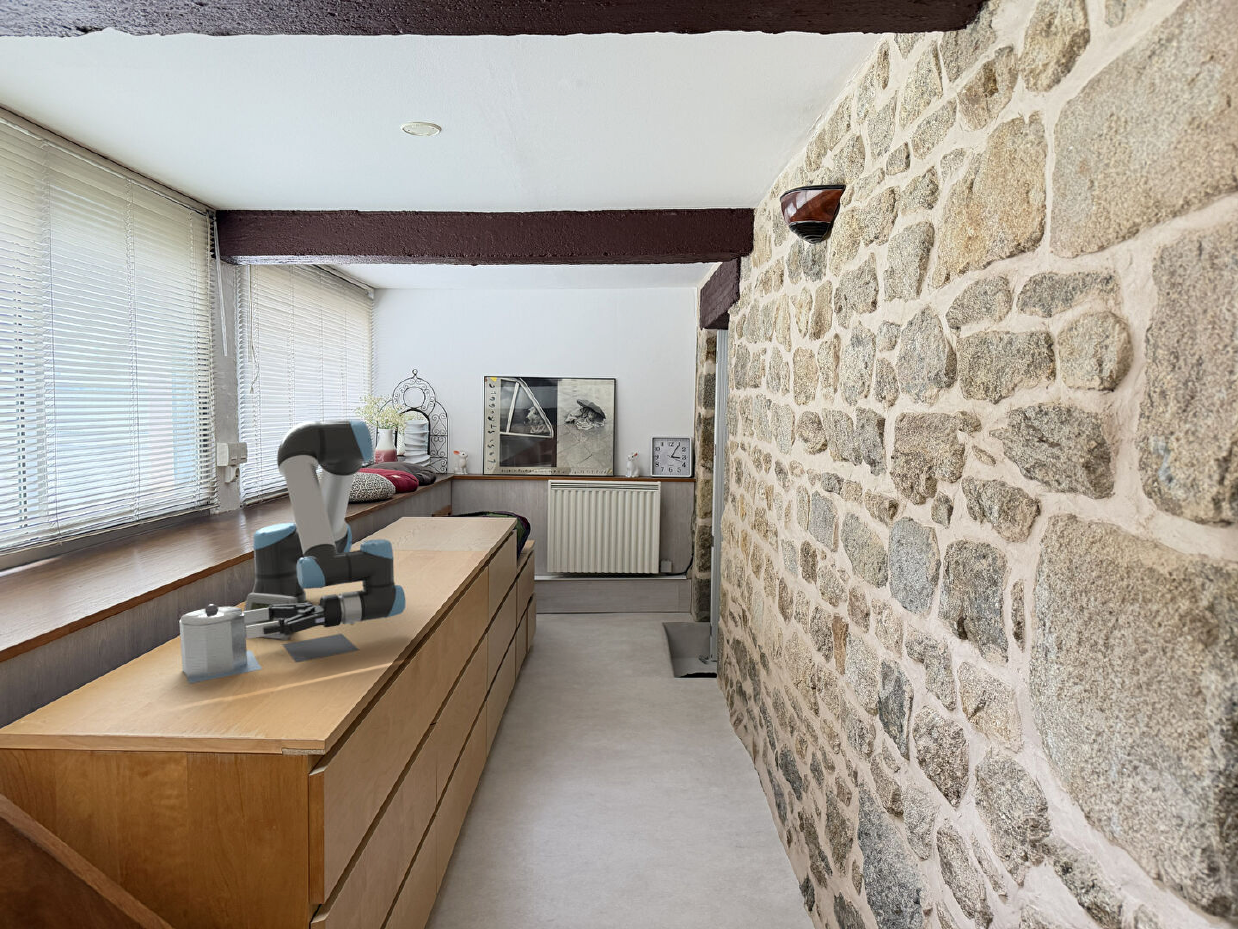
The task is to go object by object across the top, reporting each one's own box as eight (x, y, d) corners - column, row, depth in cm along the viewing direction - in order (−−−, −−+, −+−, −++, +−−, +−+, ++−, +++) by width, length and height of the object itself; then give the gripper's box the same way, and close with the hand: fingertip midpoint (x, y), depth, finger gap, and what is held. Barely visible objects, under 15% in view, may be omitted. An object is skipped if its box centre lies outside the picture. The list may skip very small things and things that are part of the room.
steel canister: (180, 666, 168) (175, 603, 167) (238, 654, 176) (234, 594, 174) (189, 681, 159) (185, 615, 158) (251, 667, 166) (247, 604, 165)
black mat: (282, 646, 182) (282, 644, 182) (341, 635, 190) (341, 633, 190) (296, 665, 169) (295, 662, 169) (359, 652, 177) (359, 650, 177)
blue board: (183, 665, 171) (183, 662, 171) (250, 652, 179) (250, 650, 178) (189, 686, 158) (189, 683, 157) (262, 671, 165) (262, 669, 165)
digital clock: (236, 636, 192) (233, 595, 191) (269, 627, 200) (266, 588, 199) (273, 646, 183) (271, 603, 182) (306, 636, 191) (304, 595, 190)
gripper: (353, 637, 171) (251, 656, 160) (328, 613, 192) (236, 628, 180) (351, 605, 171) (248, 621, 159) (326, 584, 191) (234, 597, 180)
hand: (241, 625), depth 170 cm, fingers open, 13 cm apart
